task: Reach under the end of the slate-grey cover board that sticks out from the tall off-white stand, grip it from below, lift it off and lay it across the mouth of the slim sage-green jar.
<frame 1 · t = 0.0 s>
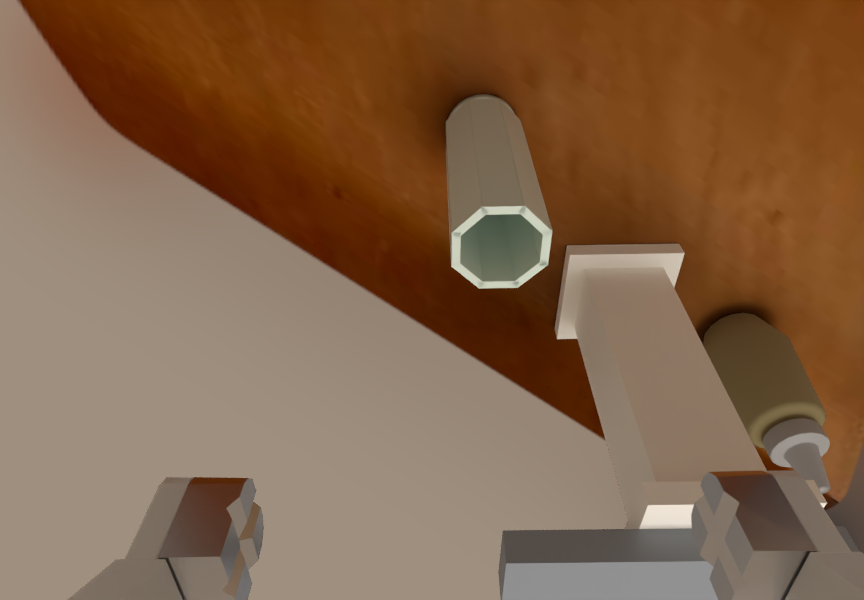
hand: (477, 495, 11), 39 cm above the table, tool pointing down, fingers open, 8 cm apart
jar: (481, 129, 47), on the table
squeeze bottle: (731, 332, 61), on the table
stand: (613, 288, 57), on the table
cover: (663, 550, 37), point 26 cm above the table, touching stand
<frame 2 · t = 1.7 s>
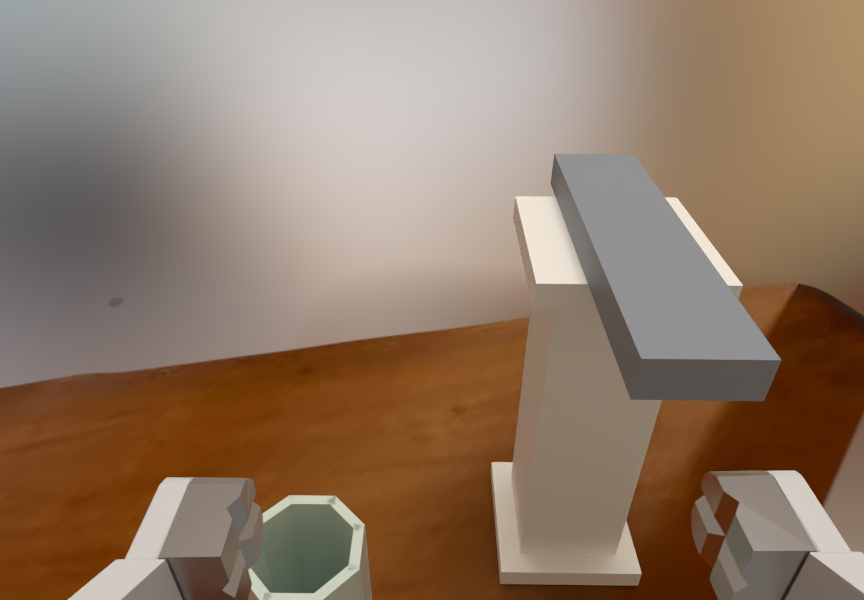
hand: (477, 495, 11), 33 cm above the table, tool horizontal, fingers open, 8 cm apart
stand: (557, 524, 48), on the table
cover: (629, 263, 31), point 26 cm above the table, touching stand
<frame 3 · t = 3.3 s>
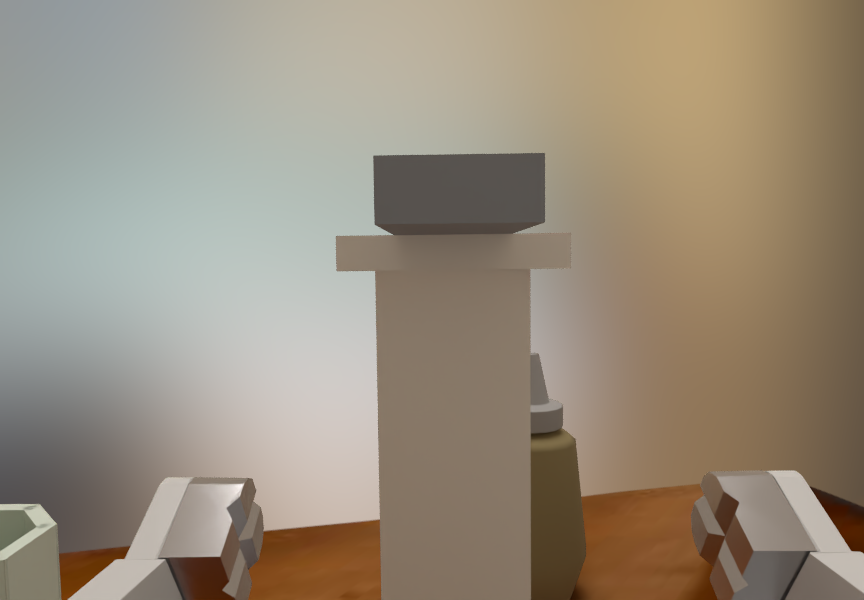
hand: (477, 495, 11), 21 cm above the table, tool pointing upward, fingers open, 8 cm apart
squeeze bottle: (531, 595, 45), on the table
cover: (452, 236, 28), point 26 cm above the table, touching stand
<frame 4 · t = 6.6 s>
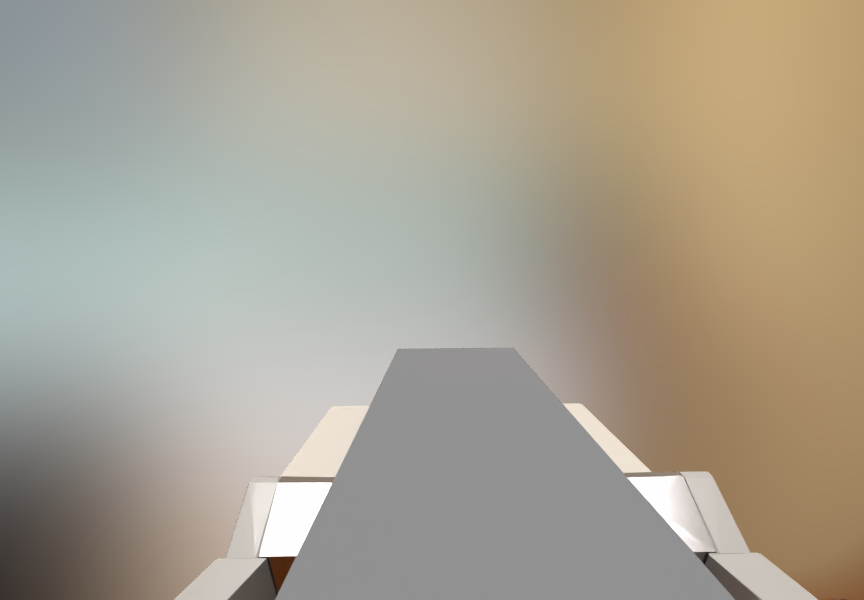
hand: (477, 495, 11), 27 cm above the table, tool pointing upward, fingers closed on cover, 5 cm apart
cover: (465, 473, 16), point 26 cm above the table, touching gripper, stand
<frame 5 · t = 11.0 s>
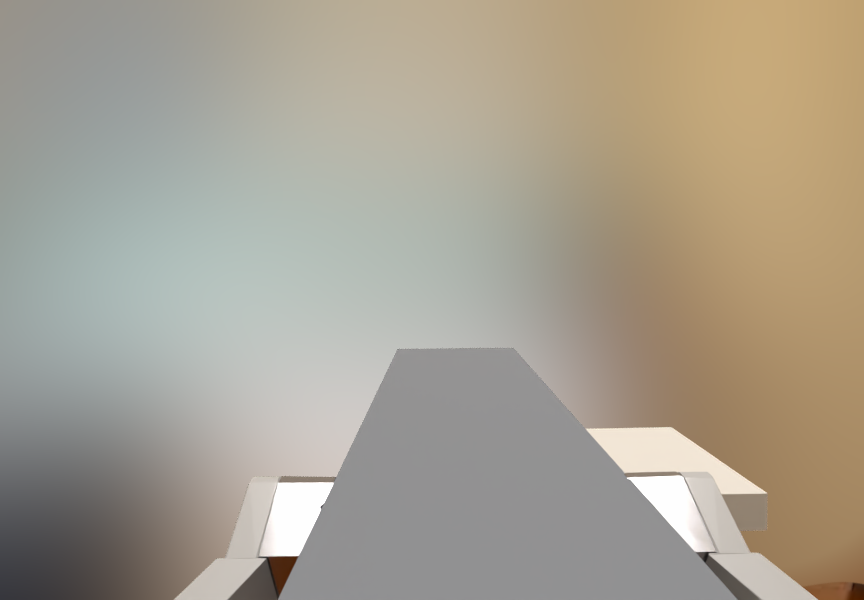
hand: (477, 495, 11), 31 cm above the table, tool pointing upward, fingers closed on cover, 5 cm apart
cover: (466, 473, 16), point 30 cm above the table, touching gripper
when the fingers open (20 cm above the table, at t = 15.3 s): cover drops 2 cm, resting on jar.
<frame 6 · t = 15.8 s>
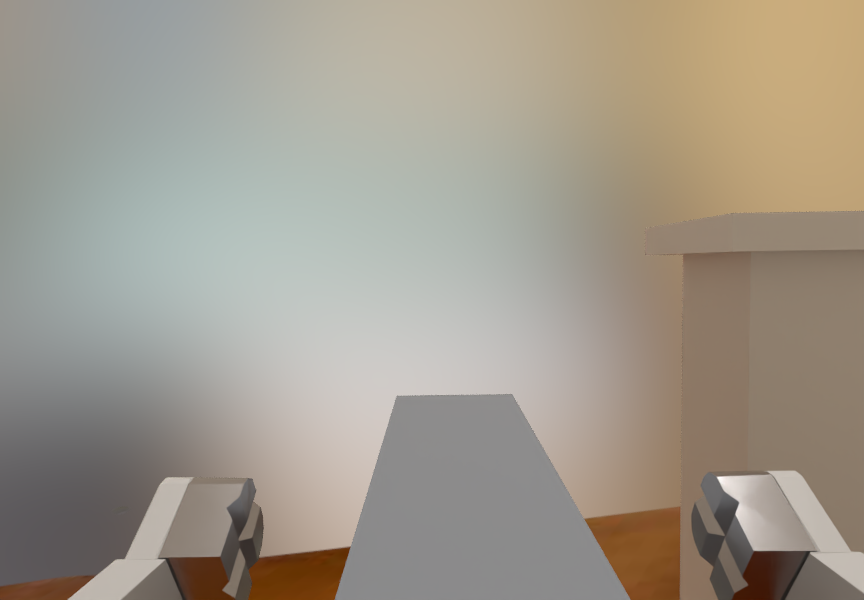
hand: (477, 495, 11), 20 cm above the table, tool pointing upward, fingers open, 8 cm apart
cover: (465, 547, 16), point 16 cm above the table, touching jar
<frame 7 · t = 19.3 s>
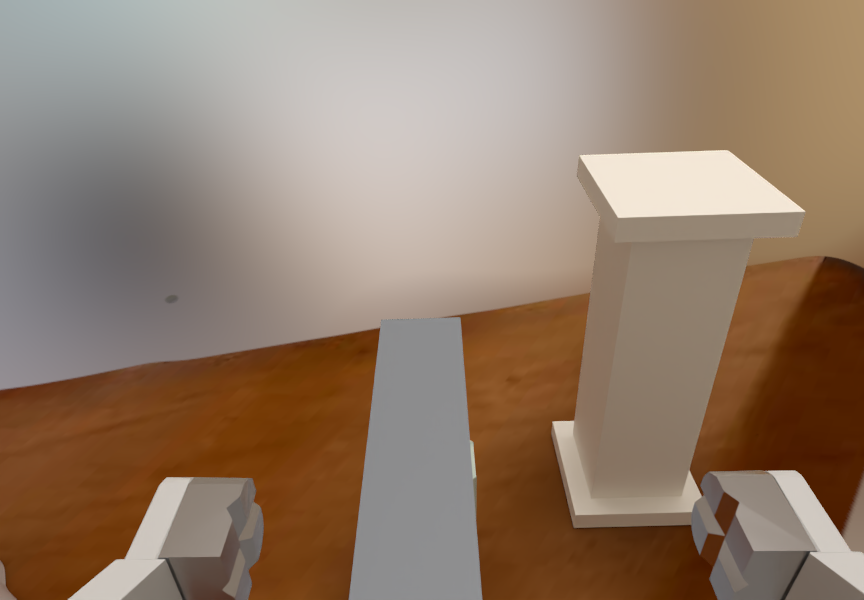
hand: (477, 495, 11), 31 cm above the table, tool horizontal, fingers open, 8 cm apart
stand: (621, 475, 51), on the table
cover: (420, 460, 31), point 16 cm above the table, touching jar
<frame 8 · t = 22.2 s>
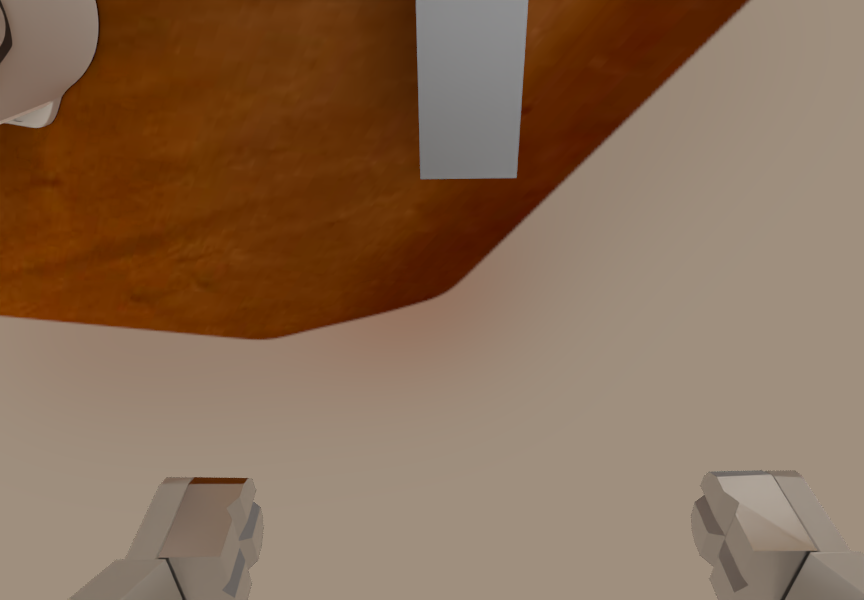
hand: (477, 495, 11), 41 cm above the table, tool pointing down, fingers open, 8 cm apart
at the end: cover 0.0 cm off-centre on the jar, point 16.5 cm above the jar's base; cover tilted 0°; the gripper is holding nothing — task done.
